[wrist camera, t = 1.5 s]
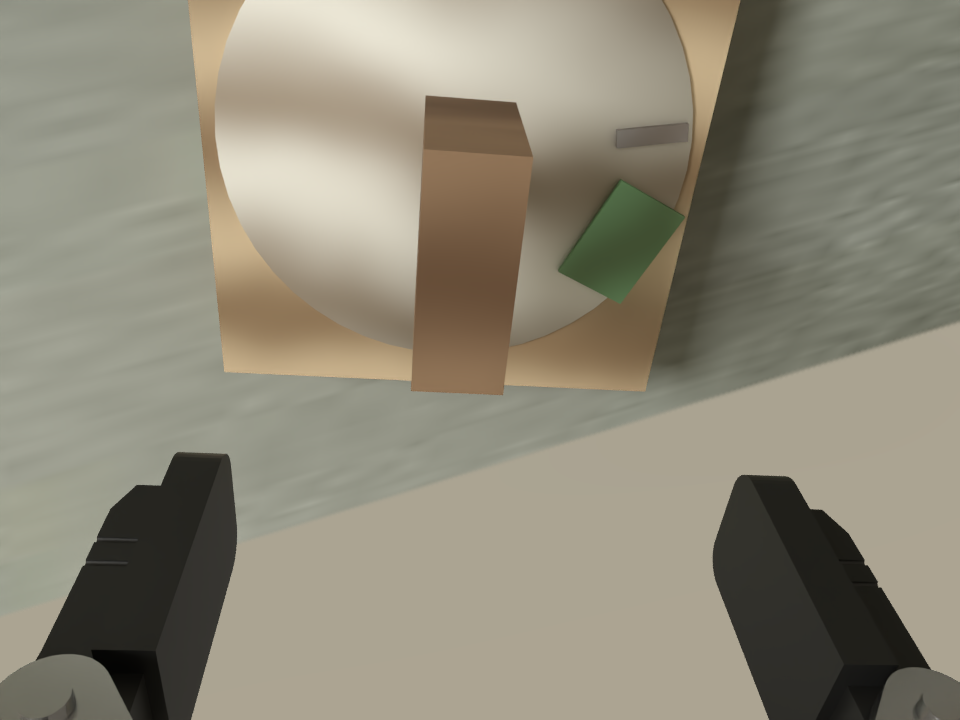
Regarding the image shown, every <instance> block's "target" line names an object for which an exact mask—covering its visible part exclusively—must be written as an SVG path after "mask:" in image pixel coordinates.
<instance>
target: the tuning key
mask: <svg viewBox="0 0 960 720" xmlns="http://www.w3.org/2000/svg"><path fill="white" fill-rule="evenodd" d="M532 164H533V154H532V151H531V148H530V145H529V142H528V139H527V135H526V132H525V129H524V126H523V123H522V120H521V116H520V113H519V110H518V107H517V104H516V102H505V101H492V100H479V99H466V98H454V97H441V96H428V95H426V96H425V115H424V134H423V153H422V173H421V192H420V211H419V230H418V249H417V268H416V288H415V307H414V331H413V356H412V380H411V391H424V392H446V393H468V394H490V395H503V390H504V382H505V374H506V367H507V359H508V351H509V343H510V335H511V328H512V320H513V312H514V304H515V296H516V289H517V281H518V273H519V265H520V258H521V250H522V242H523V234H524V226H525V219H526V211H527V203H528V195H529V187H530V180H531V172H532Z"/></svg>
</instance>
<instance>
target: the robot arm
mask: <svg viewBox="0 0 960 720" xmlns="http://www.w3.org/2000/svg"><path fill="white" fill-rule="evenodd" d="M236 545H237V523H236V513H235V503H234V493H233V482H232V472H231V463H230V458H229V456H228V455H227V454H214V453H188V452H177V453H176V454H175V455H174V457H173V459H172V461H171V463H170V465H169V468H168V470H167V472H166V475H165V477H164V479H163V482H162V484H161V486H153V485H136V486H135V487H134V488H133V489H132V490H131V491H130V492H129V493H128V494H126V495H125V496H124V497H123V498H122V499H121V500H120V501H119V502H118V503H116V504H115V505H114V506H113V507H112V508H111V509H110V511H109V513H108V515H107V517H106V519H105V521H104V523H103V526H102V528H101V530H100V532H99V534H98V536H97V542H94V544H93V546H92V548H91V550H90V552H89V554H88V556H87V558H86V564H85V566H83V567H82V569H81V571H80V573H79V575H78V577H77V579H76V581H75V583H74V585H73V587H72V589H71V591H70V593H69V595H68V597H67V599H66V601H65V603H64V606H63V608H62V610H61V612H60V614H59V616H58V618H57V620H56V622H55V624H54V626H53V628H52V630H51V632H50V634H49V636H48V638H47V640H46V643H45V644H44V647H43V649H42V651H41V652H40V654H39V656H38V657H37V659H36V661H34V662H32V663H29V664H27V665H25V666H24V667H22V668H20V669H18V670H17V671H15V672H14V673H12V674H11V675H9V676H8V677H7V678H6V679H5V680H3V681H2V682H1V683H0V720H191V717H192V713H193V710H194V707H195V703H196V699H197V696H198V692H199V689H200V685H201V681H202V678H203V674H204V670H205V667H206V663H207V660H208V656H209V652H210V649H211V645H212V642H213V638H214V634H215V631H216V627H217V624H218V620H219V616H220V613H221V609H222V606H223V602H224V599H225V595H226V591H227V588H228V584H229V581H230V577H231V573H232V570H233V566H234V561H235V554H236ZM713 569H714V576H715V580H716V583H717V586H718V588H719V591H720V594H721V596H722V599H723V601H724V604H725V607H726V609H727V612H728V614H729V617H730V619H731V622H732V625H733V627H734V630H735V632H736V635H737V638H738V640H739V643H740V645H741V648H742V651H743V653H744V655H745V658H746V661H747V663H748V666H749V669H750V671H751V674H752V676H753V679H754V682H755V684H756V687H757V689H758V692H759V695H760V697H761V700H762V702H763V705H764V707H765V710H766V713H767V715H768V718H769V720H960V682H958V681H956V680H954V679H953V678H951V677H949V676H947V675H944V674H942V673H940V672H937V671H934V670H931V669H930V667H929V666H928V664H927V662H926V661H925V659H924V657H923V656H922V654H921V653H920V651H919V649H918V647H917V646H916V644H915V642H914V641H913V639H912V638H911V636H910V634H909V633H908V631H907V629H906V628H905V626H904V624H903V623H902V621H901V619H900V618H899V616H898V614H897V613H896V611H895V609H894V608H893V607H892V605H891V603H890V601H889V600H888V598H887V596H886V595H885V593H884V592H883V590H882V588H878V585H877V583H878V581H877V580H876V578H875V577H874V575H873V573H872V572H871V570H870V568H869V567H868V566H867V565H865V564H864V558H863V557H862V555H861V554H860V552H859V550H858V549H857V547H856V545H855V544H854V542H853V540H852V539H851V537H850V535H849V534H848V533H847V532H846V531H845V530H844V529H843V528H842V527H841V526H839V525H838V524H837V523H836V522H835V521H834V520H833V519H832V518H831V517H829V516H828V515H827V514H826V513H825V512H824V511H823V510H813V509H810V508H809V507H808V505H807V503H806V501H805V500H804V498H803V496H802V494H801V493H800V491H799V489H798V488H797V486H796V484H795V482H794V481H793V480H792V479H791V478H789V477H786V476H760V475H741V476H740V477H738V479H737V480H736V482H735V484H734V487H733V490H732V493H731V496H730V499H729V501H728V504H727V507H726V510H725V514H724V516H723V520H722V522H721V525H720V528H719V531H718V534H717V537H716V540H715V543H714V548H713Z"/></svg>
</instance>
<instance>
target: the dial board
mask: <svg viewBox="0 0 960 720" xmlns="http://www.w3.org/2000/svg"><path fill="white" fill-rule="evenodd" d="M188 4H189V15H190V25H191V35H192V45H193V56H194V66H195V76H196V86H197V96H198V107H199V117H200V127H201V137H202V147H203V158H204V168H205V178H206V188H207V199H208V209H209V219H210V229H211V239H212V250H213V260H214V270H215V280H216V291H217V301H218V311H219V321H220V331H221V342H222V352H223V362H224V372H237V373H259V374H280V375H302V376H323V377H345V378H366V379H388V380H409V381H411V380H412V356H413V331H414V307H415V288H416V268H417V249H418V230H419V211H420V192H421V173H422V153H423V134H424V115H425V96H426V95H428V96H441V97H454V98H466V99H479V100H492V101H505V102H516V104H517V107H518V110H519V113H520V116H521V120H522V123H523V126H524V129H525V132H526V135H527V139H528V142H529V145H530V148H531V151H532V154H533V164H532V172H531V180H530V187H529V195H528V203H527V211H526V219H525V226H524V234H523V242H522V250H521V258H520V265H519V273H518V281H517V289H516V296H515V304H514V312H513V320H512V328H511V335H510V343H509V351H508V359H507V367H506V374H505V382H504V385H517V386H539V387H560V388H582V389H603V390H625V391H645V390H646V385H647V381H648V377H649V373H650V369H651V365H652V361H653V357H654V353H655V349H656V344H657V340H658V336H659V332H660V328H661V324H662V320H663V316H664V312H665V308H666V304H667V299H668V295H669V291H670V287H671V283H672V279H673V275H674V271H675V267H676V263H677V258H678V254H679V250H680V246H681V242H682V238H683V234H684V230H685V226H686V222H687V218H688V213H689V209H690V205H691V201H692V197H693V193H694V189H695V185H696V181H697V177H698V172H699V168H700V164H701V160H702V156H703V152H704V148H705V144H706V140H707V136H708V132H709V127H710V123H711V119H712V115H713V111H714V107H715V103H716V99H717V95H718V91H719V86H720V82H721V78H722V74H723V70H724V66H725V62H726V58H727V54H728V50H729V46H730V41H731V37H732V33H733V29H734V25H735V21H736V17H737V13H738V9H739V5H740V0H188Z"/></svg>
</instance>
